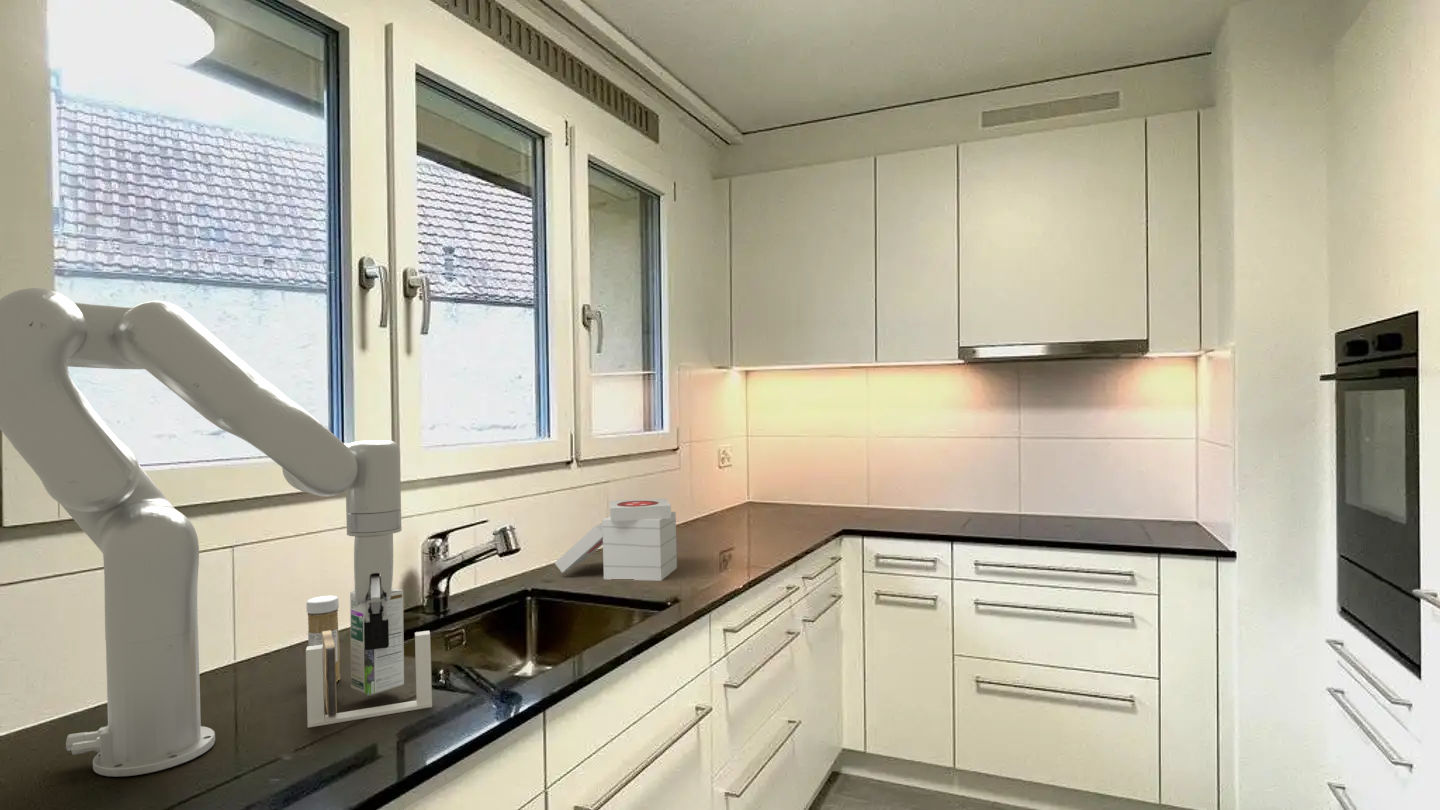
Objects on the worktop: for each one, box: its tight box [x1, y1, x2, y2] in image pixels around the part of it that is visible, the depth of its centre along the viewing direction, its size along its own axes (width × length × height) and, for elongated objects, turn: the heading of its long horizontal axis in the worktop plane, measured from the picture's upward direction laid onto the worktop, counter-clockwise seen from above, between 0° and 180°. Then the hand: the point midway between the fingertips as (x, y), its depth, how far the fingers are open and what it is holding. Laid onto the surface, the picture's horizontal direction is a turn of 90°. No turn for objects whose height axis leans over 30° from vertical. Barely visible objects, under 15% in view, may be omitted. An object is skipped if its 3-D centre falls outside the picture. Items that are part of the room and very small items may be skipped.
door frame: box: [305, 630, 433, 728], centre depth 111 cm, size 16×2×10 cm, turn 114°
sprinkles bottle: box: [306, 595, 341, 683], centre depth 125 cm, size 5×5×13 cm
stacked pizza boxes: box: [554, 498, 678, 582], centre depth 202 cm, size 19×30×18 cm, turn 78°
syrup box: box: [349, 587, 405, 696], centre depth 117 cm, size 6×6×14 cm
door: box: [322, 630, 338, 716], centre depth 114 cm, size 11×1×9 cm, turn 30°
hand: (376, 640), depth 117 cm, fingers closed on syrup box, 7 cm apart
